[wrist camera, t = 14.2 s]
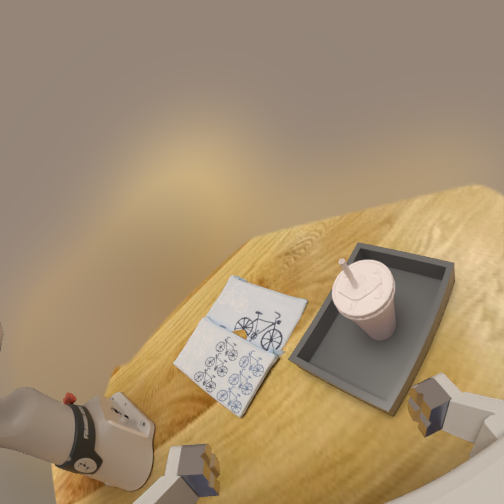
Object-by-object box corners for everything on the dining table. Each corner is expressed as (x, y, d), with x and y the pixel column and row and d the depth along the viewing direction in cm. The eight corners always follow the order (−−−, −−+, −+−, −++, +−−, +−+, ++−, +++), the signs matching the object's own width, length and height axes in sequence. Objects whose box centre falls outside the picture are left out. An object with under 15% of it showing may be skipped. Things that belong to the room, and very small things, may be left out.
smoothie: (355, 309, 36) (313, 242, 28) (402, 297, 33) (377, 222, 25) (358, 355, 32) (313, 300, 24) (409, 344, 29) (389, 281, 20)
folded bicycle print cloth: (177, 365, 50) (168, 360, 48) (236, 276, 56) (230, 269, 55) (244, 422, 36) (235, 419, 34) (318, 302, 42) (312, 294, 41)
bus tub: (301, 368, 36) (288, 359, 34) (365, 259, 41) (357, 242, 38) (393, 416, 25) (388, 411, 23) (454, 281, 30) (454, 262, 28)
